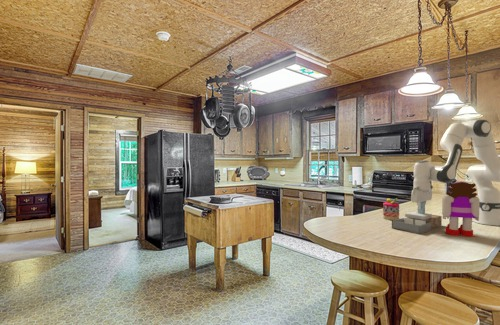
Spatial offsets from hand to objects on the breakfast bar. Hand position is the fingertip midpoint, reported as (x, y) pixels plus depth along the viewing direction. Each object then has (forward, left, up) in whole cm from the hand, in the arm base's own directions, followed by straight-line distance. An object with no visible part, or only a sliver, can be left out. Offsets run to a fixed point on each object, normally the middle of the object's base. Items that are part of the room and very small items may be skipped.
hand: (421, 208), depth 174 cm
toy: (+2, +21, -12) cm, 24 cm away
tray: (+13, 0, -11) cm, 17 cm away
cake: (-7, -23, -12) cm, 27 cm away
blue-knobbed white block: (+4, 0, -5) cm, 6 cm away
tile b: (+7, -3, -8) cm, 11 cm away
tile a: (+7, +3, -8) cm, 11 cm away
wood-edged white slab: (-4, 0, -11) cm, 12 cm away
